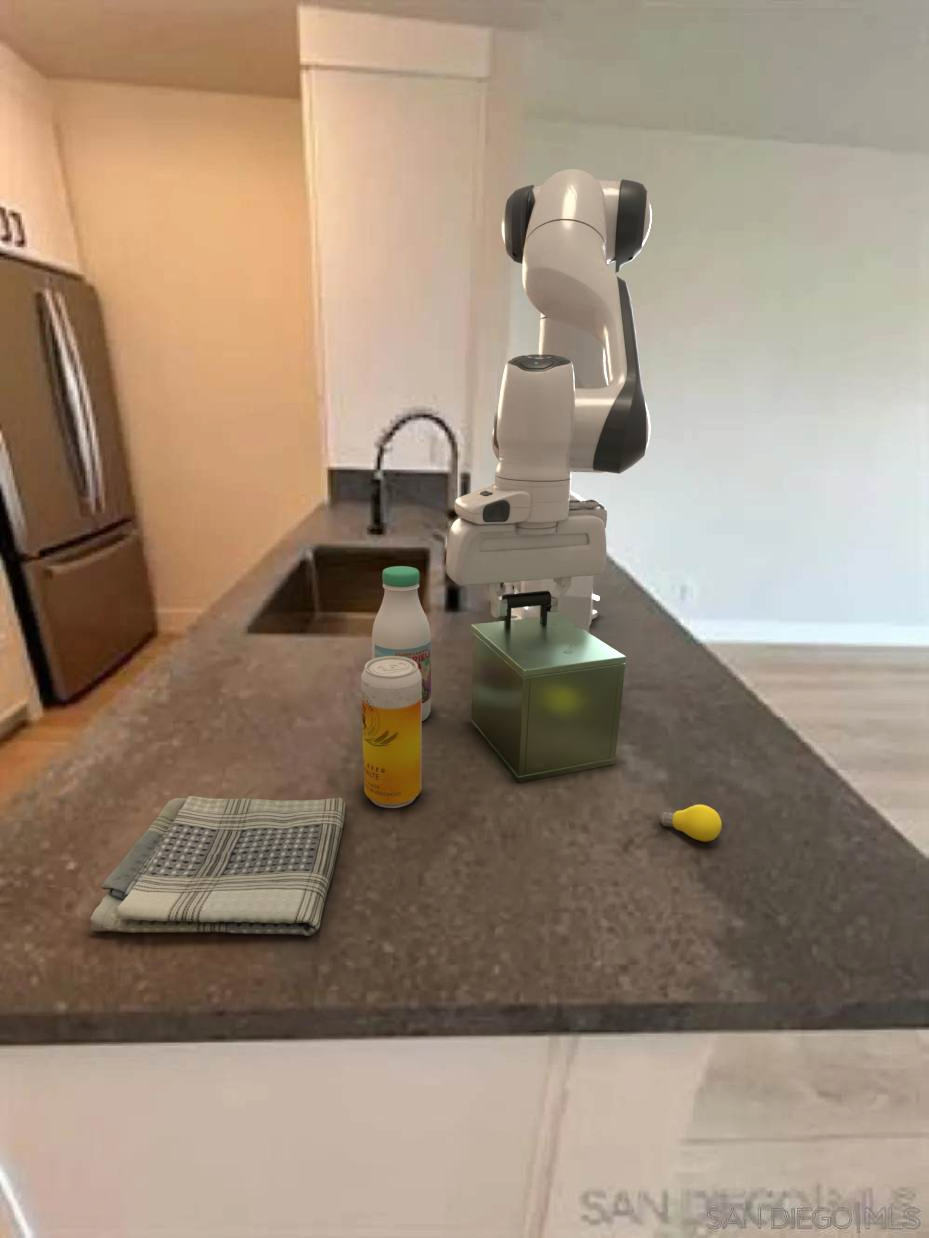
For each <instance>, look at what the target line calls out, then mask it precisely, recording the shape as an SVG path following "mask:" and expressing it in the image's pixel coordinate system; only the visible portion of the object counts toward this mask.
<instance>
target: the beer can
mask: <svg viewBox="0 0 929 1238" xmlns="http://www.w3.org/2000/svg"><path fill="white" fill-rule="evenodd" d="M360 691H361V719H362V720H361V723H362V725H361V726H362V754H363V755H362V758H363V788H364V789H363V790H364V793H365V796H366V797H367V798H369V800H370V801H371V802H372V803H374V805H376V806H378V807H380V808H385V809H397V808H398V809H399V808H402V807H405V806H408V805H409V804H411V803H413V801H415V800H416V797H418V796H419V795H420V793H421V791H422V771H423V770H422V767H423V766H422V763H423V762H422V759H423V758H422V747H423V743H422V740H423V739H422V735H423V733H422V730H423V729H422V728H423V727H422V722H423V721H422V675H421V673H420V671H419V669H418V665H417V663H416V662H415V661H414V660H412V659H410V658H406V657H401V656H384V657H378V658H375V659H372V658H371V659H370V660H368V661H367V662H366V663H365V664H364V669H363V671H362V673H361V675H360Z"/></svg>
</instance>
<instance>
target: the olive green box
mask: <svg viewBox="0 0 929 1238" xmlns="http://www.w3.org/2000/svg"><path fill="white" fill-rule="evenodd" d="M472 637H473V639H472V673H471V674H472V676H471V708H470V709H471V710H470V712H471V713H470V726H471V727H472V728H473V729H474V731H475V732H476V733H477V734H478V735H479V737H480V738H481V739H482V740H483V742H484V743H485V744H486V745H487V746H488V748H489V749H490V751H491V752H492V753H493V754H494V756H496V758H497V759H498V760H499V762H500V763H501V764H502V765H503V766H504V767H505V769H506V770H507V772H508V773H509V774H510V775H511V777H513V779H514V780H515V781H516V783H517V784H519V783H525V782H530V781H536V780H541V779H545V778H551V777H557V776H562V775H567V774H571V773H577V772H582V771H586V770H593V769H597V768H602V767H607V766H608V767H609V766H613V765H616V758H617V757H616V756H617V747H618V740H619V739H618V738H619V730H620V729H619V728H620V721H621V719H620V718H621V709H622V701H623V691H624V682H625V672H626V671H625V670H626V663H623V664H616V665H608V666H601V667H593V668H586V669H579V670H571V671H564V672H557V673H549V674H542V675H535V676H527V677H523V676H522V675H521V674H520V673H519V672H518V671H516V670H515V669H514V668H513V667H512V666H511V665H510V664H509V663H508V662H506V661H505V660H504V659H503V658H502V657H501V656H500V655H499V654H497V653H496V652H495V651H494V650H493V649H492V648H491V647H490V646H488V645H487V644H486V643H485V642H484V641H483V640H482V639H481V638H480V637H478V636H477V635H476V634H475V633H474V632H473V635H472Z"/></svg>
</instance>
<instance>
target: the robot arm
mask: <svg viewBox="0 0 929 1238" xmlns="http://www.w3.org/2000/svg"><path fill="white" fill-rule="evenodd" d="M652 212H653V211H652V205H651V202H650V199H649V196H648V190H647V188H646V187H645V186H644V183H641V182H638V181H635V180H630V179H621V180H620V181H615V180H607V179H597V178H596V177H594V175H592V173H589V172H588V171H585V170H584V169H579V168H567V169H562V170H559V171H557V172H555V173H553V174H552V175H551V176H550V177H548V178H547V179H546V180H545V182H544V183H543V184H542V185H538V186H535V185H534V184H529V185H526V186H523V187H520V188H518V189H515V190H514V191H513V192H512V193H511V194H510V196H509V197H508V199H507V200H506V202H505V207H504V210H503V212H502V213H503V214H502V219H501V236H502V240H503V244H504V247H505V251H506V254H507V255H508V256H509V258H510V259H511V260H512V261H513V262H515V263H517V264H521V265H522V267H521V268H522V270H521V273H522V274H521V276H522V278H521V279H522V287H523V291H524V293H525V295H526V297H527V299H528V300H529V302H530V303H531V305H532V306H533V307H535V309H536V310H537V311H538V312H539V313H540V316H539V333H538V334H539V335H538V353H537V354H536V353H535V354H528V355H527V354H526V355H518V356H515V357H513V358H511V359H509V360H508V361H507V362H506V363H505V366H504V368H503V369H504V370H503V375H502V379H501V385H500V392H499V399H498V405H496V407H495V409H494V417H493V428H492V431H491V446H492V451H493V452H494V456H495V457H496V459H497V464H496V465H497V466H496V468H495V471H494V472H495V473H494V483H493V484H490V485H488V486H486V487H483V488H481V489H478V490H475V491H473V492H469V493H467V494H464V495H462V496H459V497H457V498H456V499H455V501H454V512H455V514H456V515H457V516H459V518H457V519H456V520H455V521H454V522H453V523H452V525H451V527H450V530H449V533H448V539H447V545H446V555H445V572H446V575H447V576H448V577H449V579H450V580H451V581H452V582H454V583H455V584H456V585H458V586H461V587H465V586H476V585H477V586H478V585H482V589H483V591H484V593H485V594H486V596H487V598H488V599H489V602H490V615H491V616H492V617H493V618H503V619H504V617H506V616H507V611H506V610H507V607H508V604H507V603H505V602H504V601H502V596H503V595H504V594H514V593H525V592H536V591H540V588H541V580H542V579H553V578H554V579H553V581H554V582H556V585H555V587H554V589H553V591H552V593H551V603H550V604H549V605H548V612H559V611H560V610H561V601H562V599H563V597H564V595H565V594H566V592H567V591H568V589H569V588H570V586H571V578H572V577H578V576H590V575H594V576H598V575H601V574H602V572H603V571H604V570H605V568H606V567H607V534H606V533H607V532H606V528H607V523H608V522H607V521H608V511H607V508H605V506H604V505H603V504H602V503H600V502H599V501H598V500H597V499H584V498H583V497H581V496H580V495H579V494H577V493H575V492H573V491H571V485H572V473H589V474H590V473H593V474H596V473H597V474H602V473H609V474H610V473H611V474H622V473H625V471H627V470H629V469H630V468H632V467H634V465H636V464H637V463H638V462H639V461H641V460H642V458H644V457H645V455H646V451H647V449H648V446H649V441H650V436H651V418H650V413H649V409H648V406H647V403H646V397H645V393H644V387H643V381H642V373H641V366H640V365H641V364H640V358H639V349H638V348H639V347H638V338H637V331H636V324H635V322H636V321H635V316H634V310H633V304H632V303H633V302H632V297H631V294H630V290H629V287H628V284H627V282H626V281H625V280H624V279H623V278H621V277H619V276H618V275H615V274H618V273H620V272H621V268H622V266H624V265H626V264H628V263H630V262H632V261H633V260H635V258H636V257H637V256H638V254H640V253H641V252H642V251H643V246H644V245H645V243H646V241H647V239H648V237H649V234H650V230H651V228H652V227H651V226H652V219H653V218H652V217H653V213H652ZM611 263H615V269H614V270H615V273H614V272H613V270H612V269H611V268H610V266H609V264H611ZM501 588H502V595H501V596H498V594H497V592H500V591H501ZM594 600H595V601H597V602H599V601H600V596H599V595H596V594H595V593H594V588H593V589H592V601H591V613H590V625H589V627H590V626H591V624H592V621H593V620H594V619H596V618H597V617H598V611H597V610H595V609H594ZM538 616H539V606H531V607H521V608H511V620H519V619H529V618H538Z"/></svg>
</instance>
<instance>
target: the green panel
mask: <svg viewBox="0 0 929 1238" xmlns="http://www.w3.org/2000/svg"><path fill="white" fill-rule="evenodd" d="M501 596H502V601H504V602H505V603H507V604H508V607H507V610H506V611H507V616H506V617H504V618H503V620H502V621H501V620H500V621H492V622H491V621H490V622H482V623H473V624H471V625H470V631H472V632H473V633H475V634H476V635H477V636H478V637H480V638H481V639H482V640H483V641H484V642H485V643H486V644H487V645H488V646H490V647H491V648H492V649H493V650H494V651H495V652H496V653H497V654H499V655H500V656H501V657H502V658H503V659H504V660H505V661H506V662H508V663H509V664H510V665H511V666H512V667H513V668H514V669H515V670H516V671H518V672H519V673H520V674H521V675H522V676H523V677H527V676H535V675H542V674H549V673H557V672H564V671H571V670H579V669H586V668H593V667H601V666H608V665H616V664H623V663H625V664H626V662H627V656H626V655H625V654H623V653H621V652H620V651H618V650H616V649H614V648H613V647H611V646H610V645H608V644H607V643H605V642H604V641H602V640H600V639H599V638H598V637H596V636H595V635H592V634H591V633H590V632H589V633H588V632H586V631H585V630H583V629H581V628H580V627H578V626H577V625H575V624H573V623H572V622H570V621H569V620H567V619H566V618H564V617H562V616H561V615H558V616H548V617H547V613H548V605H549V604H550V603H551V593H550V592H549V591H536V592H525V593H514V594H502V595H501ZM531 606H541V610H540V617H538V618H529V619H519V620H511V608H521V607H531Z"/></svg>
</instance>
